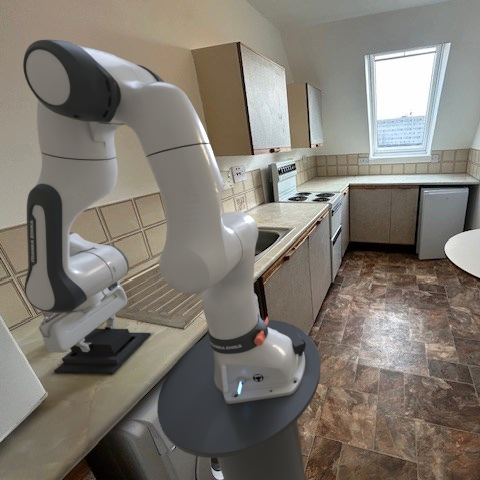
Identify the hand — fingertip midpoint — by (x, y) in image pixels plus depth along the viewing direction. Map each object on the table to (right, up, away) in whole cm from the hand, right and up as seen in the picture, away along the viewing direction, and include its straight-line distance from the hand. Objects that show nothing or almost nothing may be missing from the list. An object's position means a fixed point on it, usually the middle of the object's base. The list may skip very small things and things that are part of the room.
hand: (100, 339), depth 71 cm
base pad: (0, -4, +1) cm, 4 cm away
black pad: (0, -2, +1) cm, 2 cm away
